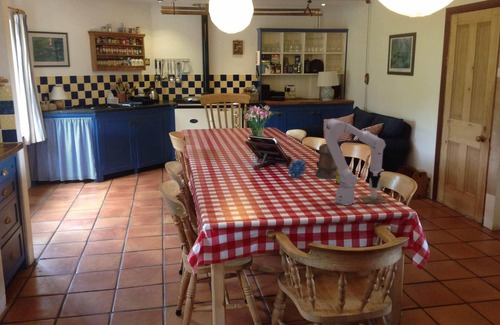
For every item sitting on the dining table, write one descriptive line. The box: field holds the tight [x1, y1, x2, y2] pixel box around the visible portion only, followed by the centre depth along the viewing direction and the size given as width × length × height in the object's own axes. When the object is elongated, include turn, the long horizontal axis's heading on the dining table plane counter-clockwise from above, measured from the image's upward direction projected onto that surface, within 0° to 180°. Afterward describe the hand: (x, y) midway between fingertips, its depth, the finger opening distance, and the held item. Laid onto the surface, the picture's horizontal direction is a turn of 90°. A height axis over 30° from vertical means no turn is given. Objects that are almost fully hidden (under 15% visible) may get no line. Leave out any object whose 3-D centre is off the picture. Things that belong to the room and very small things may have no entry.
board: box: [358, 191, 390, 204], centre depth 239 cm, size 12×12×4 cm
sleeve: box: [368, 178, 382, 192], centre depth 237 cm, size 6×6×5 cm
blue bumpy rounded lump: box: [287, 158, 308, 179], centre depth 282 cm, size 12×7×12 cm, turn 98°
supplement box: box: [335, 165, 351, 185], centre depth 269 cm, size 6×6×11 cm
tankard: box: [314, 143, 337, 180], centre depth 289 cm, size 24×17×20 cm
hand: (374, 186), depth 237 cm, fingers closed on sleeve, 6 cm apart
